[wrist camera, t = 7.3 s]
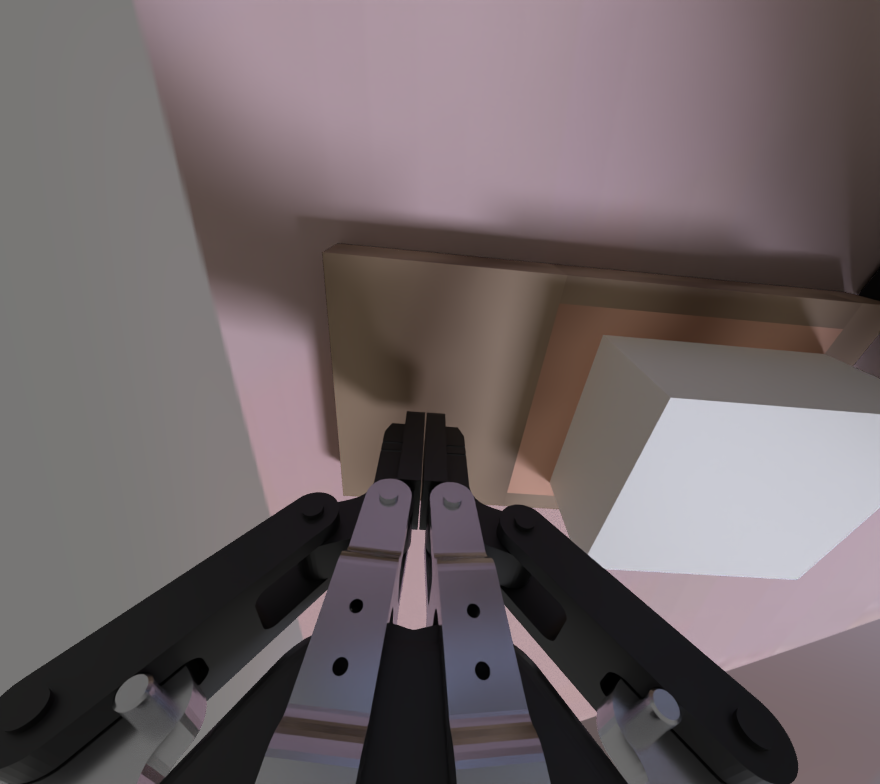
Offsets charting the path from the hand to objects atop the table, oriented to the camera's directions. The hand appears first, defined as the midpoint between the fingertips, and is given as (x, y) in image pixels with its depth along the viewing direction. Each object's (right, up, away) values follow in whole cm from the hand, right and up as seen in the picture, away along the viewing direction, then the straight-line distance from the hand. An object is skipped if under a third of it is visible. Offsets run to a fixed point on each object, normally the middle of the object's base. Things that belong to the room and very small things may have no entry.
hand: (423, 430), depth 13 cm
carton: (+11, 0, +2) cm, 11 cm away
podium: (+7, +1, +3) cm, 8 cm away
